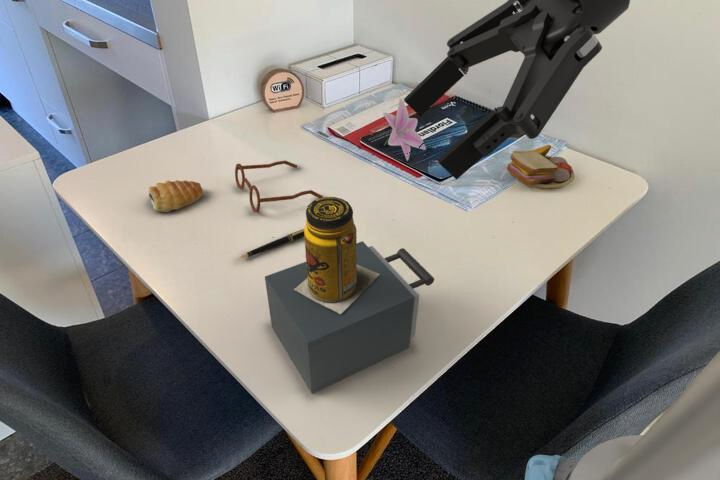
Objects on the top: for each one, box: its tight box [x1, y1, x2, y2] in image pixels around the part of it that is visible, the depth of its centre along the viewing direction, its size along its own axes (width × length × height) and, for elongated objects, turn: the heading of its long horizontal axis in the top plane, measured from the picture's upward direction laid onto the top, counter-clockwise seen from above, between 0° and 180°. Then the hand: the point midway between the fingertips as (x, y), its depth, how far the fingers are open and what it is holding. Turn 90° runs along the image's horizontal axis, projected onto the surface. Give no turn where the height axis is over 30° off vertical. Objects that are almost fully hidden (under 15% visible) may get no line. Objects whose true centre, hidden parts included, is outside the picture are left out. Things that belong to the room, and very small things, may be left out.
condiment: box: [294, 196, 380, 314], centre depth 62 cm, size 7×8×12 cm
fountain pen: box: [239, 228, 305, 259], centre depth 86 cm, size 14×1×2 cm, turn 125°
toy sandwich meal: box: [506, 144, 575, 191], centre depth 103 cm, size 12×14×5 cm
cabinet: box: [264, 240, 415, 395], centre depth 68 cm, size 15×13×10 cm
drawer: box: [368, 245, 435, 340], centre depth 70 cm, size 18×11×8 cm, turn 120°
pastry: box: [147, 179, 204, 213], centre depth 95 cm, size 9×7×4 cm
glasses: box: [234, 160, 324, 213], centre depth 98 cm, size 13×13×5 cm
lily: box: [383, 97, 426, 162], centre depth 110 cm, size 12×12×10 cm
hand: (427, 136), depth 54 cm, fingers open, 13 cm apart
